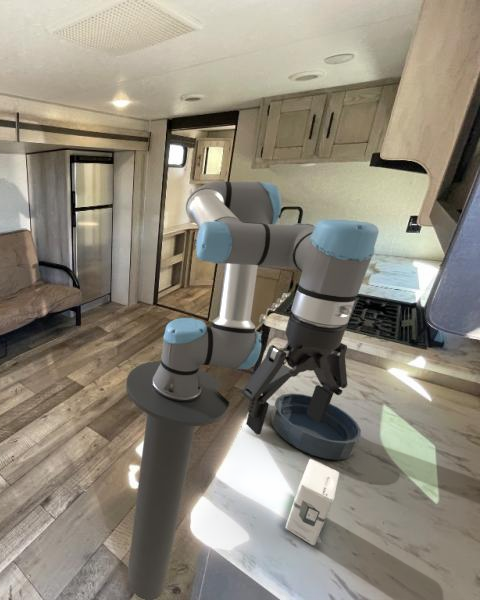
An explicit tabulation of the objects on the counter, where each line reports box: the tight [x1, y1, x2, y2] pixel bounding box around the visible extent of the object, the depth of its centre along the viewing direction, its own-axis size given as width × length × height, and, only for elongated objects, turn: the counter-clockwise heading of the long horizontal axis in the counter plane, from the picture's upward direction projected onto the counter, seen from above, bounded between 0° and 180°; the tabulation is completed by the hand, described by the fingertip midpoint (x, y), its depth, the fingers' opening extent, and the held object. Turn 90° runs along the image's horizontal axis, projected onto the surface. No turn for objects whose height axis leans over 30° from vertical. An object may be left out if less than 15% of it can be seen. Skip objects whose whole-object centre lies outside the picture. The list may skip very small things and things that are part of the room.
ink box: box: [285, 458, 340, 546], centre depth 61 cm, size 9×5×12 cm, turn 137°
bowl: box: [270, 392, 362, 461], centre depth 84 cm, size 18×18×6 cm
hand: (284, 423), depth 59 cm, fingers open, 13 cm apart
